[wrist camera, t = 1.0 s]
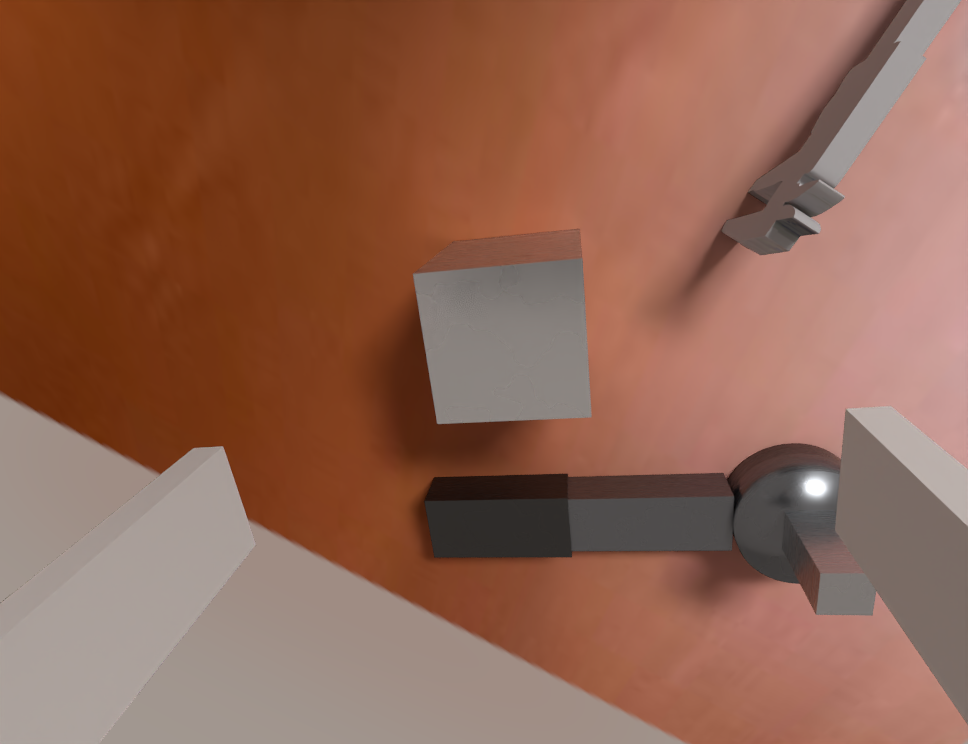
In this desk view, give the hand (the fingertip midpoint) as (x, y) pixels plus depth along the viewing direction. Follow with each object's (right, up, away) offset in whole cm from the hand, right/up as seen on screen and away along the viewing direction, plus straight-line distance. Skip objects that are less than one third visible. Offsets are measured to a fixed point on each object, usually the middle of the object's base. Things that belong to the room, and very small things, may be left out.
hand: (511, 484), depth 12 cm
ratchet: (+7, -4, +17) cm, 19 cm away
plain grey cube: (+1, +6, +14) cm, 15 cm away
